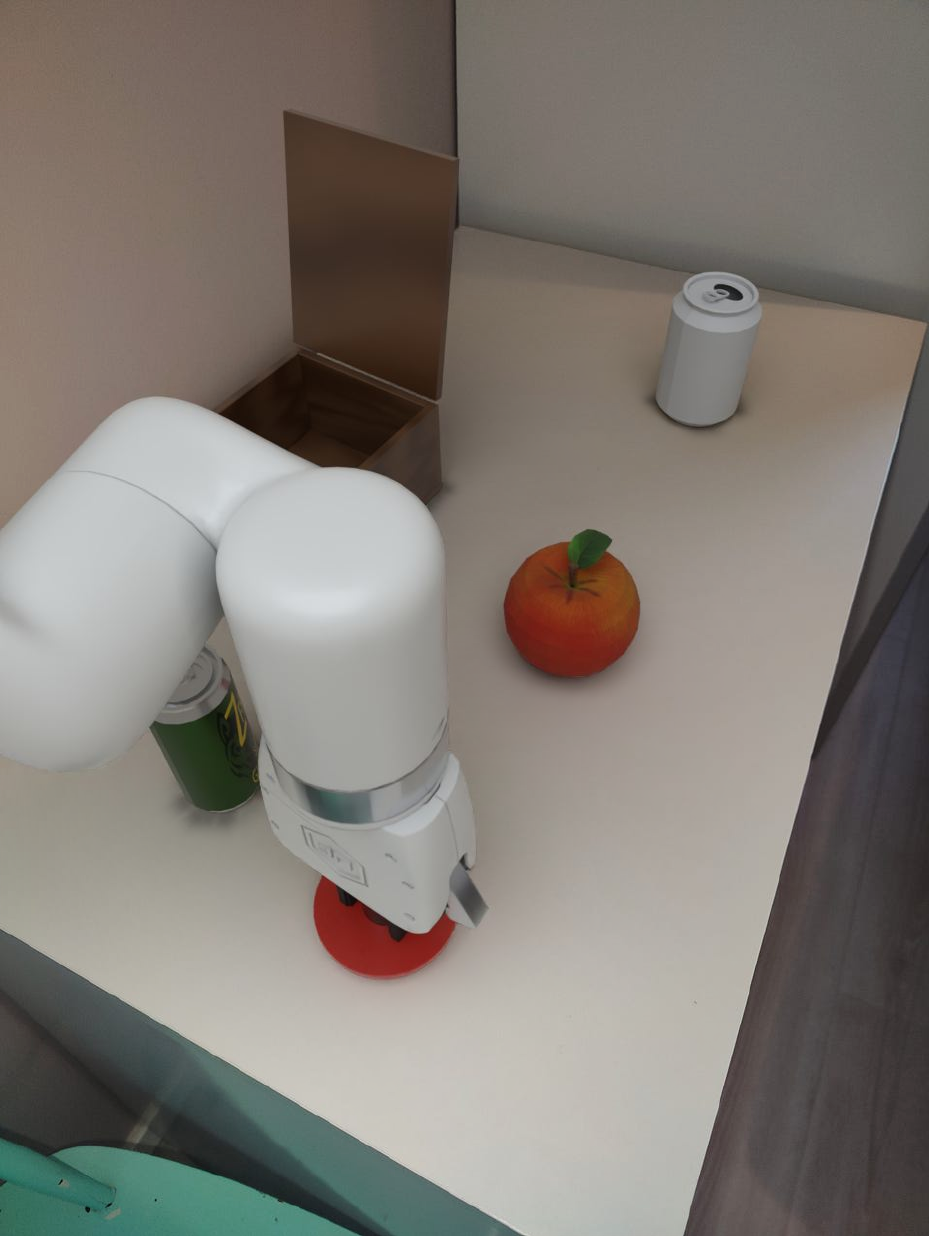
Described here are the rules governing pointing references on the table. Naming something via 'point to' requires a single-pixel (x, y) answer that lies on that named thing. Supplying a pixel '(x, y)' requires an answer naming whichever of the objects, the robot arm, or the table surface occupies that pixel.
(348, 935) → the pot lid
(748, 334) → the can
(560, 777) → the table surface
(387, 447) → the chest
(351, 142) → the chest lid
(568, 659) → the fruit
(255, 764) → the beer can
